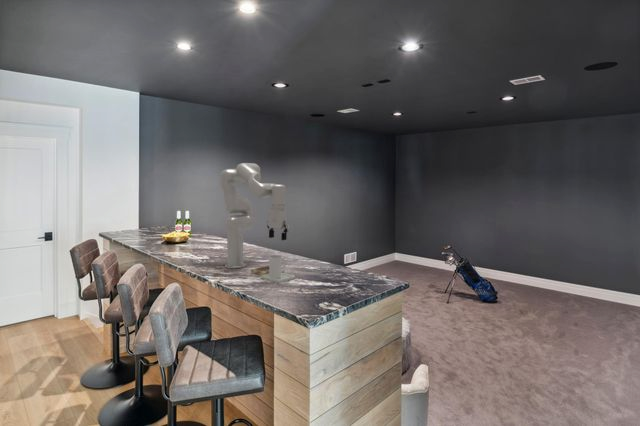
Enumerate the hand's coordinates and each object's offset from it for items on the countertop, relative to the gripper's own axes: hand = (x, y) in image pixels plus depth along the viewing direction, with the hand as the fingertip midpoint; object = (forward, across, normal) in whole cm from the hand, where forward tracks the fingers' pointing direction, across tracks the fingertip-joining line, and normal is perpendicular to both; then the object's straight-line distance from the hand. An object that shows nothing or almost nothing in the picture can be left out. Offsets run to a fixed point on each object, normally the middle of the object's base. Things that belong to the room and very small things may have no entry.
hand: (277, 238), depth 202 cm
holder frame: (+22, -13, +5) cm, 26 cm away
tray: (+22, +1, 0) cm, 22 cm away
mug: (+22, +1, 0) cm, 22 cm away
